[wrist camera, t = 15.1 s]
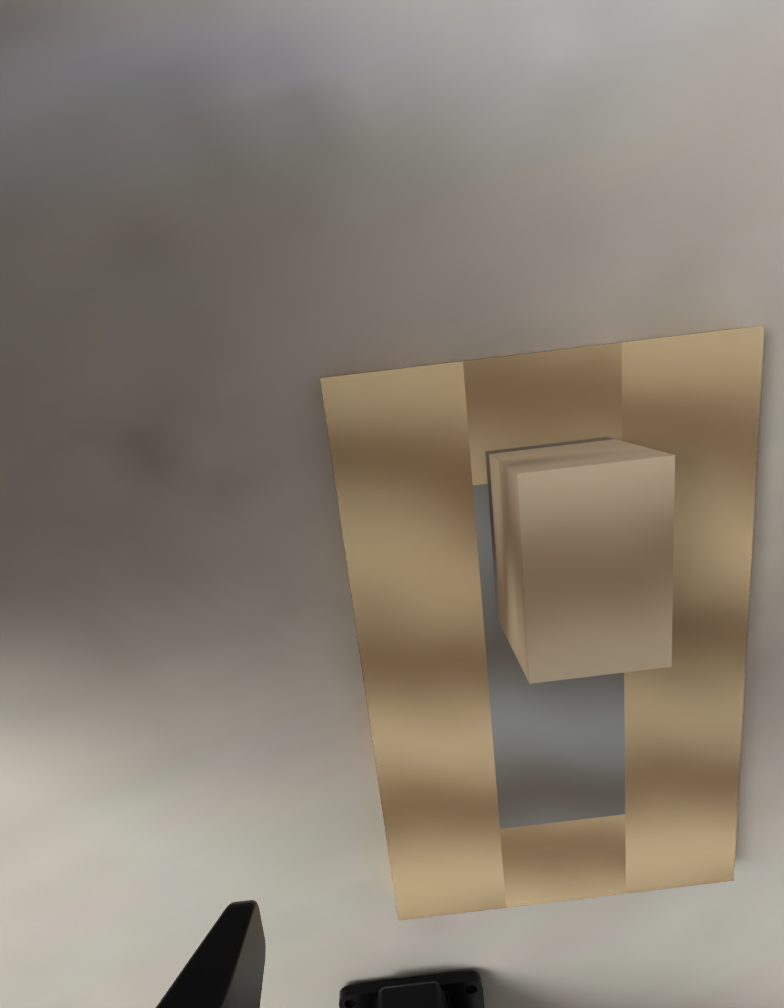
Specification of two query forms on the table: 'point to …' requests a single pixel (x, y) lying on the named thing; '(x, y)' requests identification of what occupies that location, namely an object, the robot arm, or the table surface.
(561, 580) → the block
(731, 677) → the board
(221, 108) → the table surface
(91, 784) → the table surface
